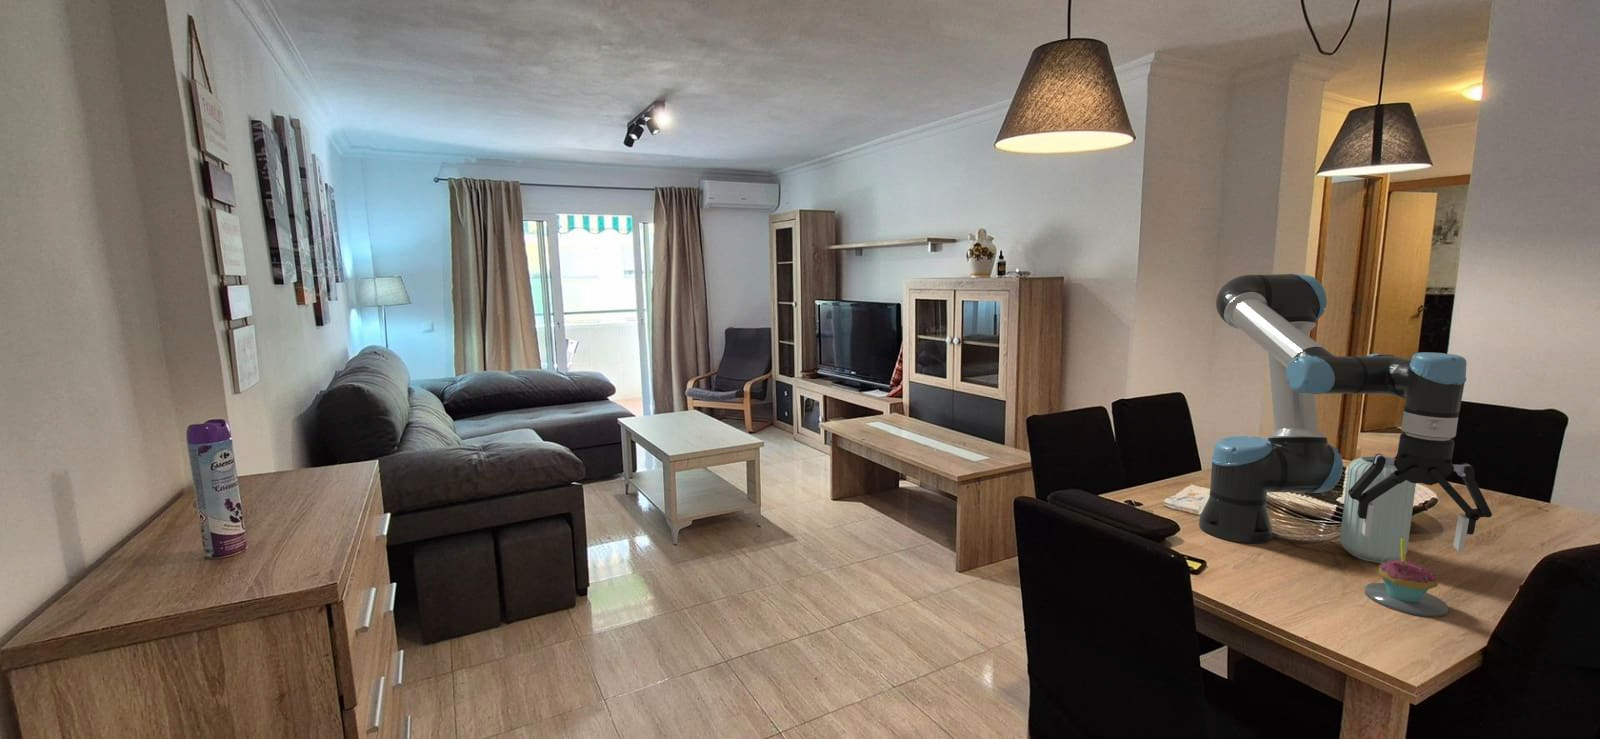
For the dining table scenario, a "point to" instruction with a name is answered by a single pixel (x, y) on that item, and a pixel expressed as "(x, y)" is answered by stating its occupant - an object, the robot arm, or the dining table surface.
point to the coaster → (1424, 607)
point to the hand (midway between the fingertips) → (1410, 541)
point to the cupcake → (1406, 578)
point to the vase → (1377, 516)
